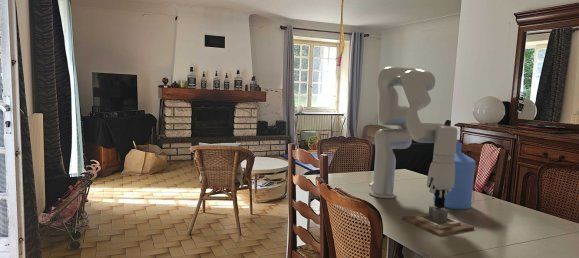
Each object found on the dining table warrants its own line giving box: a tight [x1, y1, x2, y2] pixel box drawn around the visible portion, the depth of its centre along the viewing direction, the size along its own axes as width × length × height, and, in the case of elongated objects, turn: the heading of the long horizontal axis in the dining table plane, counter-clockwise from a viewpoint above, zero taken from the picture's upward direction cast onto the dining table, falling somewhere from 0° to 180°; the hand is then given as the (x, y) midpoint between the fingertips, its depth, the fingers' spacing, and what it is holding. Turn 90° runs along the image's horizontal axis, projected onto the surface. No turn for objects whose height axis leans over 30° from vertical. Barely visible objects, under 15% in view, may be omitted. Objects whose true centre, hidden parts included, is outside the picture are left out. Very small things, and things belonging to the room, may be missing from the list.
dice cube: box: [428, 205, 449, 224], centre depth 145 cm, size 5×5×5 cm
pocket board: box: [402, 212, 475, 237], centre depth 145 cm, size 18×18×2 cm
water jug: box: [433, 141, 476, 211], centre depth 170 cm, size 16×16×28 cm
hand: (439, 206), depth 145 cm, fingers closed
